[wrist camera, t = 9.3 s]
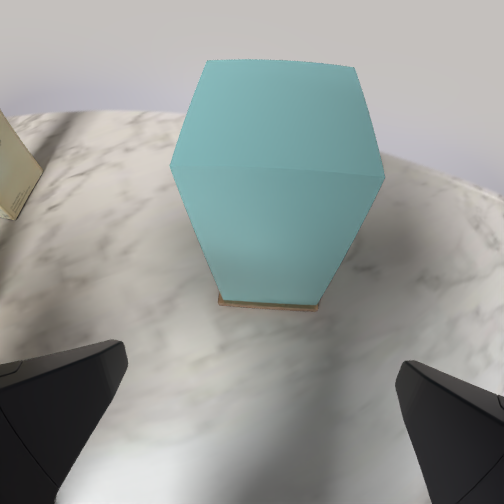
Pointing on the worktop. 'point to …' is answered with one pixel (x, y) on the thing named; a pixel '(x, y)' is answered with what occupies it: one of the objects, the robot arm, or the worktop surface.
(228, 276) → the teal block
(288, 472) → the worktop surface
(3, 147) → the skincare box
